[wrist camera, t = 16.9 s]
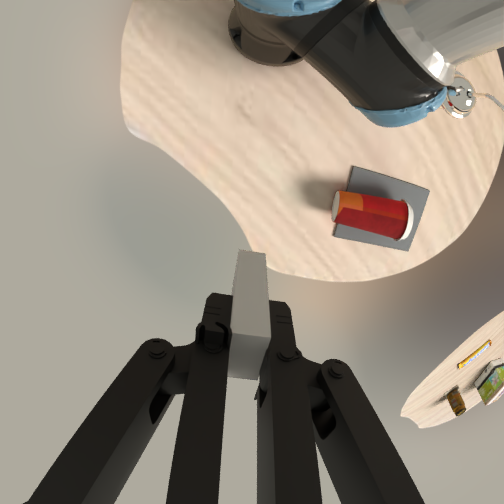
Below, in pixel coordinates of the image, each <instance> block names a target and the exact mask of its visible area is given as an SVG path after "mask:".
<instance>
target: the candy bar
mask: <svg viewBox="0 0 504 504" xmlns="http://www.w3.org/2000/svg"><path fill="white" fill-rule="evenodd" d="M490 341H491V340H488V341H487V342H486V343H485V344H484V345H482V346H481V347H480V348H479V349H477V350H476V351H475V352H474V353H472V354H471V355H470V356H468V357H467V358H466V359H465V360H463V361H462V362H461V363H460V364H459V369H460V368H462V367H464V366H465V365H467V364H468V363H469V362H471V361H472V360H473V359H475V358H476V357H477V356H478V355H479V354H481V353H482V352H483V351H484V350H485V349H486V348H488V347H489V345H490V346H491V343H492V342H490Z"/></svg>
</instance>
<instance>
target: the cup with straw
mask: <svg viewBox="0 0 504 504" xmlns="http://www.w3.org/2000/svg"><path fill="white" fill-rule="evenodd" d="M446 87H447V95H446V99H445V100H444V102H443V103H442V104H441V106H440V107H439V108H441V109H443V110H445V111H446V113H448V114H449V115H450V116H452V117H454V118H464V117H466V116H468V115H469V114H470V112H471V111H472V109H473V108H474V107H475V104H476V97H481V98H489V99H491V100H492V101H493V102H494V103H496V104H497V105H498V106H499V107H500V108H501V109H502V110H503V111H504V106H503V105H502V104H501V103H500V102H499V101H498V100H497V99H496V98H495V97H494V96H492V95H490V94H487V93H476V92H475V89H474V87H473V85H472V84H471V83H470V81H469V80H467V79H466V78H465V77H464V76H463V75H462V74H461V73H460V72H458V71H455V76H454V81H453V83H452V84H450V85H448V86H446Z"/></svg>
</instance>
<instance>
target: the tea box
mask: <svg viewBox="0 0 504 504" xmlns="http://www.w3.org/2000/svg"><path fill="white" fill-rule="evenodd" d="M474 384H475V386H476V388H477V390H478V392H479V394H480V396H481V398H482V400H483V402H484V404H485V405H488V404H490V403H492V402H495V401H497V400H498V398H499V397H500V396H501V395H502V394H503V393H504V361H503V359H502V358H500V359H496V360H493V361H491V362H490V363H489V365H488V366H487V368H486V369H485V370H484V371H483V373H482V374H481V375H480V376H479V378H478V379H477V380H476V381H475V382H474Z"/></svg>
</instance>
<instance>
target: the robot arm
mask: <svg viewBox="0 0 504 504" xmlns="http://www.w3.org/2000/svg"><path fill="white" fill-rule="evenodd" d="M234 2H235V7H234V8H233V10H232V12H231V14H230V17H229V23H228V27H229V33H230V36H231V39H232V42H233V43H234V45H235V47H236V48H237V49H238V50H239V51H240V52H241V53H242V54H243V55H244V56H245V57H247V58H249V59H250V60H252V61H254V62H257V63H259V64H263V65H267V66H287V65H292V64H295V63H297V62H300V61H302V60H303V59H304V60H305V61H306V62H308V63H309V64H310V65H311V66H312V67H313V68H315V69H316V70H317V71H318V72H319V73H320V74H321V75H323V76H324V77H325V78H326V79H327V80H328V81H329V82H330V83H331V84H332V85H333V86H334V87H336V88H337V89H338V90H339V91H340V92H341V93H342V94H343V95H344V96H345V97H346V98H347V99H348V101H349V103H350V104H351V105H352V106H354V107H355V108H356V109H358V110H360V111H361V112H362V113H363V114H364V115H365V116H366V117H367V118H368V119H369V120H370V121H371V122H373V123H374V124H376V125H379V126H382V127H400V126H405V125H408V124H411V123H414V122H417V121H419V120H421V119H423V118H425V117H426V116H427V113H428V112H433V111H435V110H436V109H438V108H439V107H440V106H441V104H442V103H443V102H444V100H445V99H446V95H447V87H446V86H448V85H450V84H452V83H453V81H454V76H455V70H456V67H457V65H459V64H461V63H464V62H466V61H468V60H471V59H473V58H476V57H478V56H480V55H483V54H485V53H488V52H490V51H493V50H496V49H498V48H501V47H503V46H504V0H375V1H374V2H371V1H369V0H234ZM292 324H293V322H292V316H291V310H290V308H289V307H288V305H287V304H286V303H285V302H280V301H272V300H269V297H268V282H267V268H266V254H265V253H259V252H252V251H246V250H239V252H238V258H237V264H236V270H235V276H234V282H233V288H232V295H225V294H219V293H212V294H211V295H210V296H209V297H208V298H207V300H206V304H205V308H204V313H203V318H202V322H201V323H199V324H198V326H197V327H196V338H195V341H194V342H193V343H191V344H188V345H186V346H177V347H173V346H172V344H171V343H170V342H168V341H166V340H164V339H159V338H155V339H150V340H148V341H145V342H144V343H143V344H142V345H141V346H140V348H139V349H138V350H137V351H136V353H135V354H134V355H133V357H132V358H131V359H130V361H129V362H128V363H127V364H126V366H125V367H124V368H123V370H122V371H121V372H120V373H119V375H118V376H117V377H116V379H115V380H114V381H113V383H112V384H111V385H110V387H109V388H108V389H107V391H106V392H105V393H104V395H103V396H102V397H101V399H100V400H99V401H98V403H97V404H96V405H95V407H94V408H93V410H92V411H91V412H90V413H89V415H88V416H87V418H86V419H85V420H84V422H83V423H82V424H81V426H80V427H79V428H78V430H77V431H76V433H75V434H74V435H73V437H72V438H71V439H70V441H69V442H68V444H67V445H66V446H65V448H64V449H63V451H62V452H61V454H60V455H59V457H58V458H57V459H56V461H55V462H54V464H53V465H52V466H51V468H50V469H49V471H48V472H47V474H46V475H45V477H44V478H43V480H42V481H41V483H40V484H39V486H38V487H37V489H36V490H35V492H34V493H33V495H32V496H31V498H30V499H29V501H27V502H25V503H23V504H114V503H115V501H116V499H117V497H118V496H119V494H120V492H121V490H122V489H123V487H124V485H125V483H126V481H127V480H128V478H129V476H130V474H131V473H132V471H133V469H134V467H135V466H136V464H137V462H138V460H139V459H140V457H141V455H142V453H143V451H144V450H145V448H146V446H147V444H148V443H149V441H150V439H151V437H152V435H153V434H154V432H155V430H156V428H157V427H158V425H159V423H160V421H161V420H162V418H163V416H164V414H165V412H166V411H167V409H168V407H169V405H170V404H171V402H172V400H173V398H174V396H175V394H185V395H184V400H183V405H182V411H181V416H180V421H179V426H178V432H177V438H176V444H175V449H174V455H173V461H172V467H171V473H170V479H169V486H168V493H167V499H166V504H218V496H219V481H220V466H221V451H222V438H223V425H224V412H225V399H226V387H227V386H226V385H227V377H233V378H242V379H250V380H258V377H259V376H260V383H259V386H258V389H257V392H256V394H255V398H254V400H256V399H257V504H322V496H321V487H320V477H319V469H318V460H317V453H316V444H317V447H318V449H319V452H320V454H321V456H322V459H323V461H324V464H325V466H326V468H327V471H328V473H329V475H330V478H331V480H332V483H333V485H334V487H335V489H336V492H337V494H338V497H339V499H340V501H341V504H425V503H424V501H423V499H422V497H421V495H420V493H419V492H418V490H417V487H416V486H415V484H414V482H413V480H412V478H411V476H410V474H409V473H408V470H407V469H406V467H405V465H404V463H403V461H402V459H401V457H400V456H399V454H398V452H397V450H396V448H395V446H394V445H393V443H392V441H391V439H390V437H389V436H388V434H387V432H386V430H385V429H384V427H383V425H382V423H381V421H380V420H379V418H378V416H377V414H376V412H375V411H374V409H373V407H372V405H371V404H370V402H369V400H368V398H367V397H366V395H365V393H364V391H363V389H362V388H361V386H360V384H359V383H358V381H357V379H356V377H355V376H354V374H353V372H352V370H351V369H350V368H349V366H348V365H347V364H346V363H344V362H342V361H340V360H337V359H329V360H326V361H325V362H324V363H323V364H319V363H316V362H313V361H310V360H308V359H306V358H304V357H303V356H302V353H301V351H299V349H298V348H297V347H296V342H295V335H294V328H293V325H292ZM315 442H316V444H315Z"/></svg>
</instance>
